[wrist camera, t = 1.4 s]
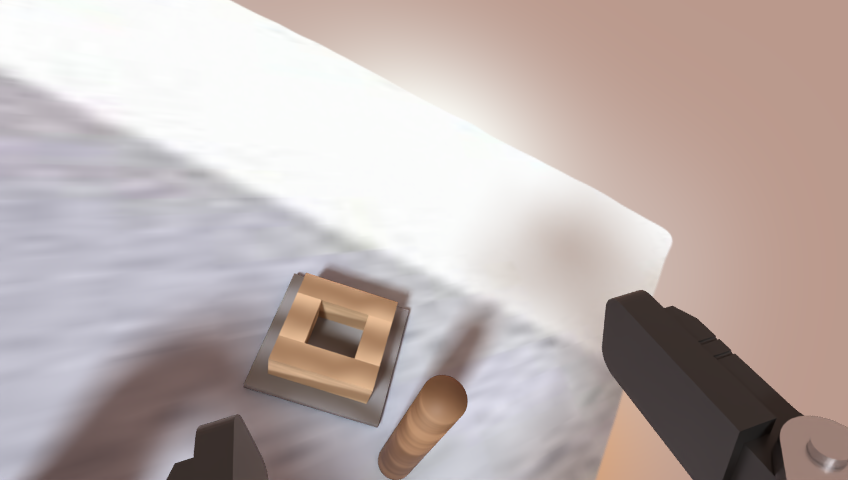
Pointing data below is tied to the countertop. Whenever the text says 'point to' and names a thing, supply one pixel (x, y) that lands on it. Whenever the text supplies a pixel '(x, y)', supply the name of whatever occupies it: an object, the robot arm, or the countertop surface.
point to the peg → (423, 425)
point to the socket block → (330, 349)
